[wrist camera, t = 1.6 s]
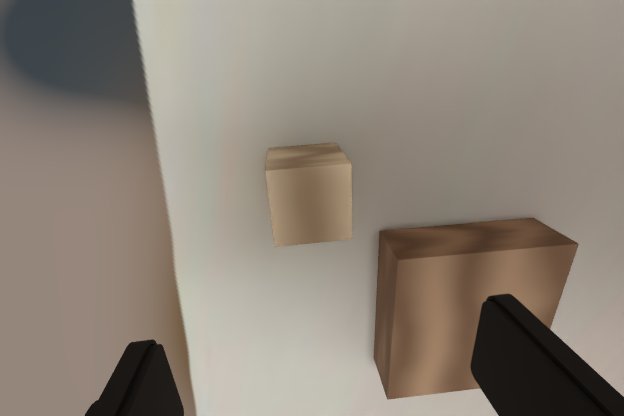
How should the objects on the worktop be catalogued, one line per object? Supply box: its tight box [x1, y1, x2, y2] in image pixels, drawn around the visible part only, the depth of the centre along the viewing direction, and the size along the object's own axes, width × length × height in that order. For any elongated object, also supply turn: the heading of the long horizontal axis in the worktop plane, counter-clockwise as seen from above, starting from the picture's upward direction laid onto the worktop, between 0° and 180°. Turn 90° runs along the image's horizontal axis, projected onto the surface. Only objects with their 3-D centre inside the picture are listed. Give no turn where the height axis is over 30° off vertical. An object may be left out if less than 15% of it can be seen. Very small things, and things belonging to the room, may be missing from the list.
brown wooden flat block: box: [374, 218, 578, 399], centre depth 29 cm, size 14×15×5 cm
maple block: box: [265, 143, 352, 247], centre depth 22 cm, size 5×5×6 cm
